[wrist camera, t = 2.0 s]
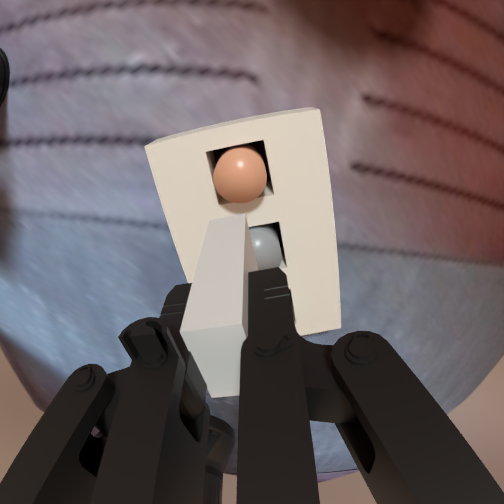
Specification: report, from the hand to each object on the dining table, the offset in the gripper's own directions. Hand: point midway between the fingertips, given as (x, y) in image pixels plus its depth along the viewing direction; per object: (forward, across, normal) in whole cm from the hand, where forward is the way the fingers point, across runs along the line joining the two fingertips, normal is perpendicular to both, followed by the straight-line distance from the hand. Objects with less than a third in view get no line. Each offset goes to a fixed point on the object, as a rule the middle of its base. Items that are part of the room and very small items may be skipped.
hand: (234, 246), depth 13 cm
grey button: (+15, 0, +7) cm, 17 cm away
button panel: (+17, 0, +7) cm, 18 cm away
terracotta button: (+15, 0, 0) cm, 15 cm away
